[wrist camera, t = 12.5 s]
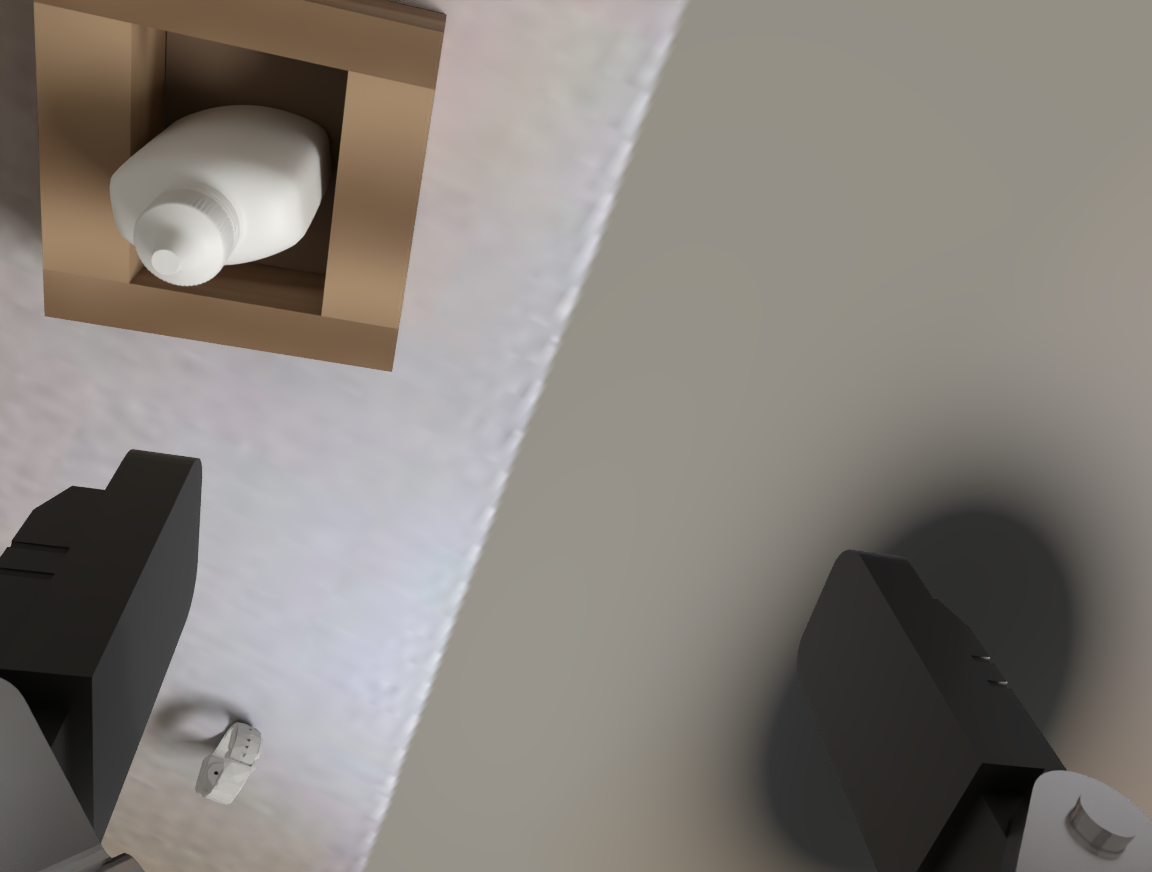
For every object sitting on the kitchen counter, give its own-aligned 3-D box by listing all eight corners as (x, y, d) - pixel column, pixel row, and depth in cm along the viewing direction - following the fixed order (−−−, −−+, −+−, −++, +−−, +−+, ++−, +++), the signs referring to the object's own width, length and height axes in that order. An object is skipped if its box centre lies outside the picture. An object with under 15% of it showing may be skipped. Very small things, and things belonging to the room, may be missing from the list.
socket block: (90, -70, 32) (31, -63, 28) (446, 14, 34) (443, 32, 30) (93, 267, 38) (44, 316, 33) (399, 319, 40) (392, 371, 36)
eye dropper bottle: (301, 239, 37) (237, 376, 26) (156, 164, 35) (26, 280, 25) (351, 139, 35) (303, 244, 25) (202, 55, 33) (82, 130, 23)
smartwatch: (238, 703, 50) (220, 765, 46) (276, 718, 50) (262, 780, 47) (206, 745, 51) (186, 808, 47) (243, 760, 52) (227, 823, 48)
